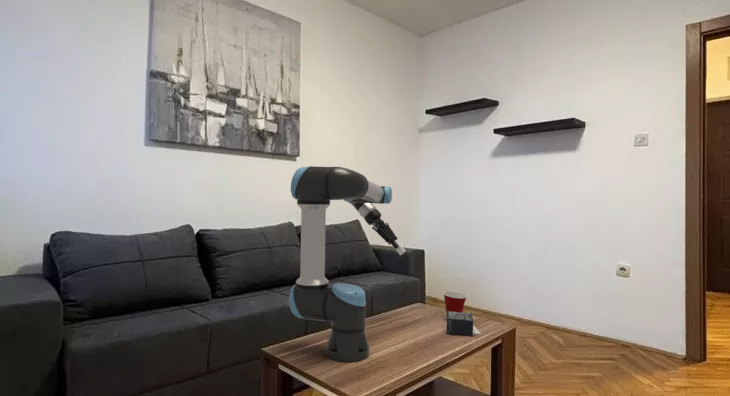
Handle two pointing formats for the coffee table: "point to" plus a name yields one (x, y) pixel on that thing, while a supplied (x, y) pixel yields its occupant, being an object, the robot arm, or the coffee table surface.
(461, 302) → the plastic cup
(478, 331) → the mat
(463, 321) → the small box
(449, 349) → the coffee table surface
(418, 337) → the coffee table surface
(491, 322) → the coffee table surface
